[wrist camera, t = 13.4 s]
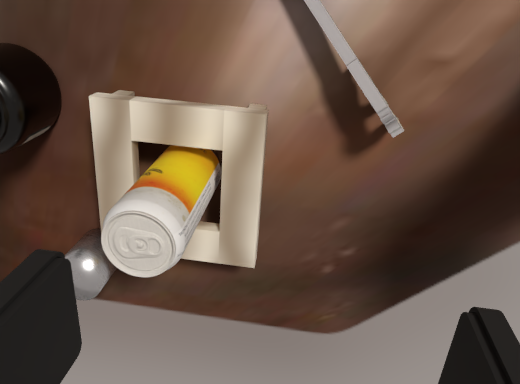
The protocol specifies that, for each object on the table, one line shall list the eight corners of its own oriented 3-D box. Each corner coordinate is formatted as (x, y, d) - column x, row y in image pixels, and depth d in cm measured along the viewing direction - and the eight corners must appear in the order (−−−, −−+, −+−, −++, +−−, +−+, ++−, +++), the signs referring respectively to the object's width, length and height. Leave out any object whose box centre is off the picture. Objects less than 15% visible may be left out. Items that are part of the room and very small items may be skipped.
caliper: (398, 118, 40) (411, 140, 35) (387, 125, 41) (398, 147, 35) (262, -90, 35) (251, -104, 29) (251, -80, 35) (238, -92, 30)
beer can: (160, 135, 44) (89, 203, 30) (222, 139, 43) (178, 210, 30) (164, 192, 46) (101, 278, 33) (223, 196, 46) (182, 285, 32)
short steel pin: (123, 231, 49) (99, 262, 43) (126, 269, 51) (103, 303, 46) (79, 225, 49) (50, 255, 44) (84, 263, 51) (56, 296, 46)
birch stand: (272, 100, 41) (266, 114, 36) (260, 240, 47) (254, 268, 43) (113, 84, 42) (88, 96, 37) (122, 223, 48) (102, 248, 44)
